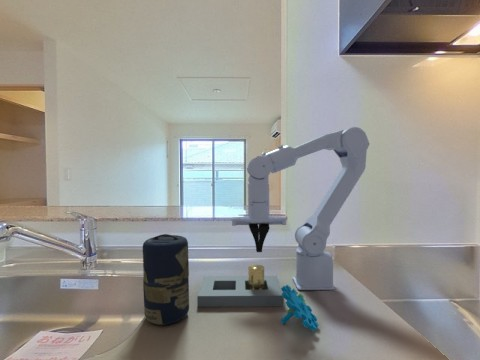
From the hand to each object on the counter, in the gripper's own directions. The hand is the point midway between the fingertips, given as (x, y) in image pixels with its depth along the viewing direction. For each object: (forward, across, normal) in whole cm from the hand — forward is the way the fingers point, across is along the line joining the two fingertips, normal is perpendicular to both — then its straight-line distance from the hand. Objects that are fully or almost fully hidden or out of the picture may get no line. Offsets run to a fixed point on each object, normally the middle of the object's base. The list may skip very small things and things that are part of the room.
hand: (259, 251), depth 76 cm
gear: (+10, -7, +19) cm, 22 cm away
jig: (+9, +5, +6) cm, 12 cm away
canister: (+10, +22, +15) cm, 28 cm away
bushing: (+9, +1, +6) cm, 11 cm away
